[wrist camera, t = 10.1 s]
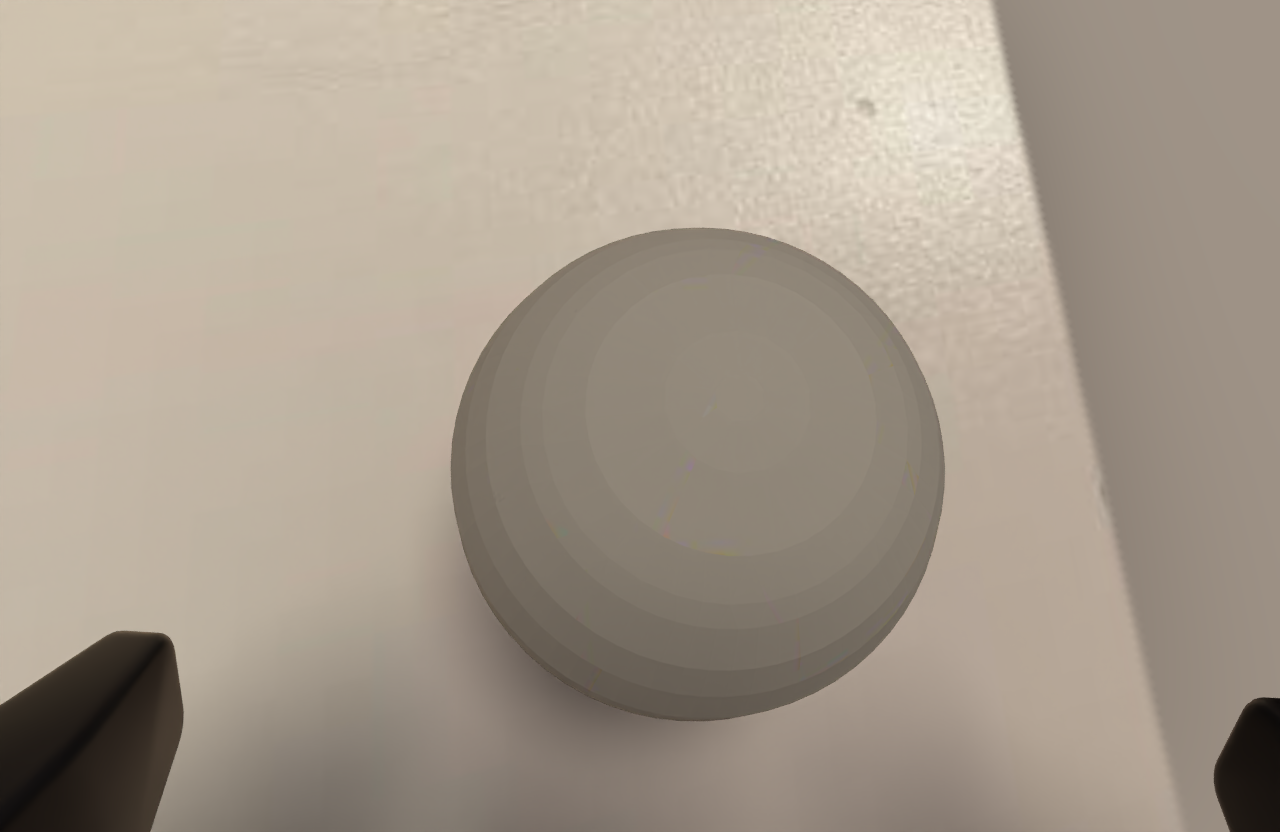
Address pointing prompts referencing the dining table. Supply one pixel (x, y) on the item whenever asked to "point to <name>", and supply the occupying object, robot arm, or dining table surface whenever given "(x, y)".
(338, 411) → the dining table surface
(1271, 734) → the robot arm
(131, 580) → the dining table surface
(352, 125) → the dining table surface
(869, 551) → the light bulb
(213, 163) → the dining table surface
